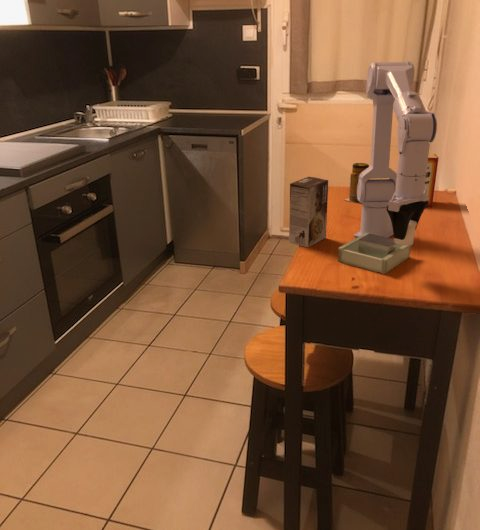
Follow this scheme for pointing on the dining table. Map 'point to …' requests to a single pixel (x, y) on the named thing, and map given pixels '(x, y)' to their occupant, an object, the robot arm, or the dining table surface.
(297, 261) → the dining table surface
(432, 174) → the baking soda box
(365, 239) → the tea tin
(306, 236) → the coffee box
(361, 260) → the tote
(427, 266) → the dining table surface
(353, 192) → the condiment
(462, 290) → the dining table surface
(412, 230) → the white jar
